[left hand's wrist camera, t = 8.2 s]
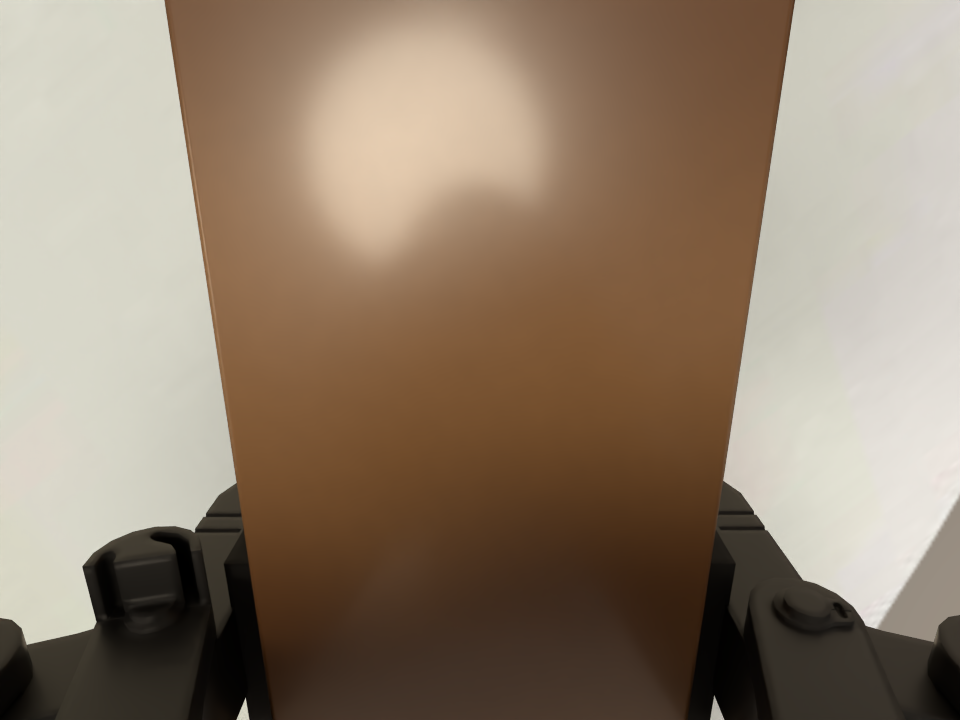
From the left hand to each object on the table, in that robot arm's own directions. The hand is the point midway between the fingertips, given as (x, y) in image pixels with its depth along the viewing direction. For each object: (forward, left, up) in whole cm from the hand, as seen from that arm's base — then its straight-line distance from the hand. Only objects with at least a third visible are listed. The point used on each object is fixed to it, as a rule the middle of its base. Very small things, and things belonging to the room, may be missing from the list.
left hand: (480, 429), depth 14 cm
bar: (+7, +2, -1) cm, 7 cm away
